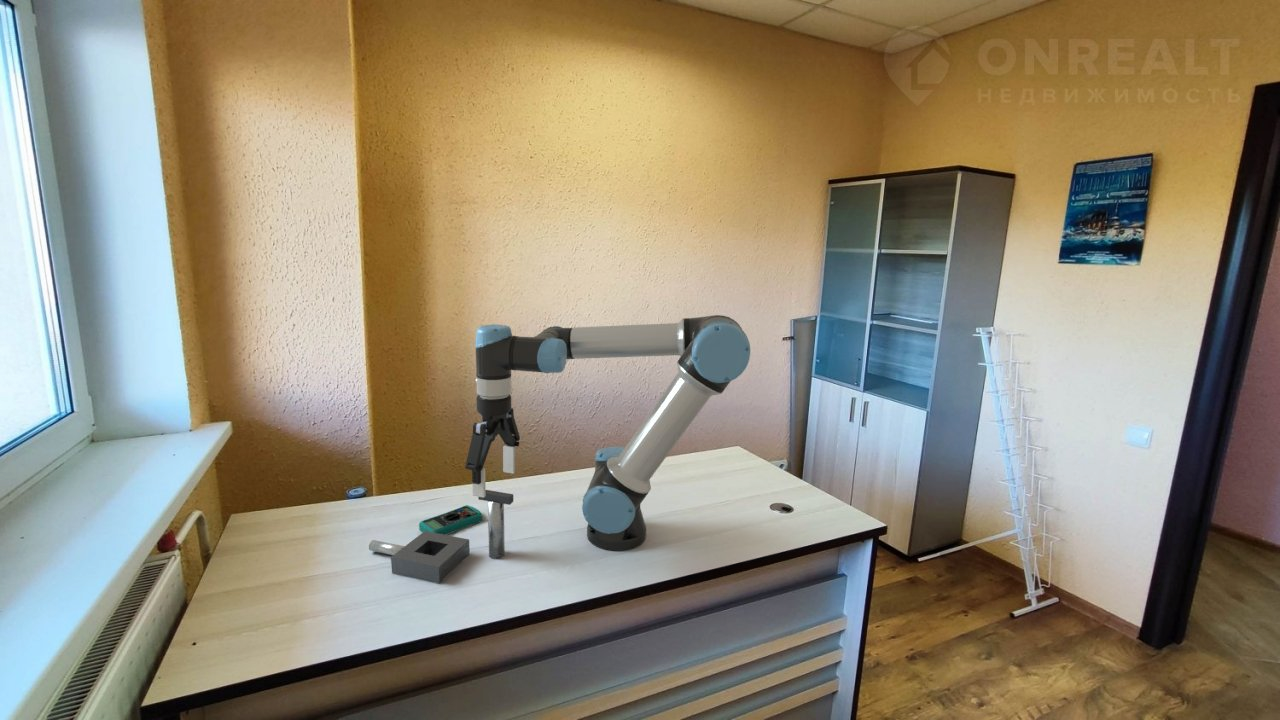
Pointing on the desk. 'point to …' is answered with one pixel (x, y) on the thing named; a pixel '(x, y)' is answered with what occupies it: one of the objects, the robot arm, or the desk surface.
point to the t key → (496, 521)
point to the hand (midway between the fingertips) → (494, 483)
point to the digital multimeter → (451, 520)
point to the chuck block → (425, 556)
